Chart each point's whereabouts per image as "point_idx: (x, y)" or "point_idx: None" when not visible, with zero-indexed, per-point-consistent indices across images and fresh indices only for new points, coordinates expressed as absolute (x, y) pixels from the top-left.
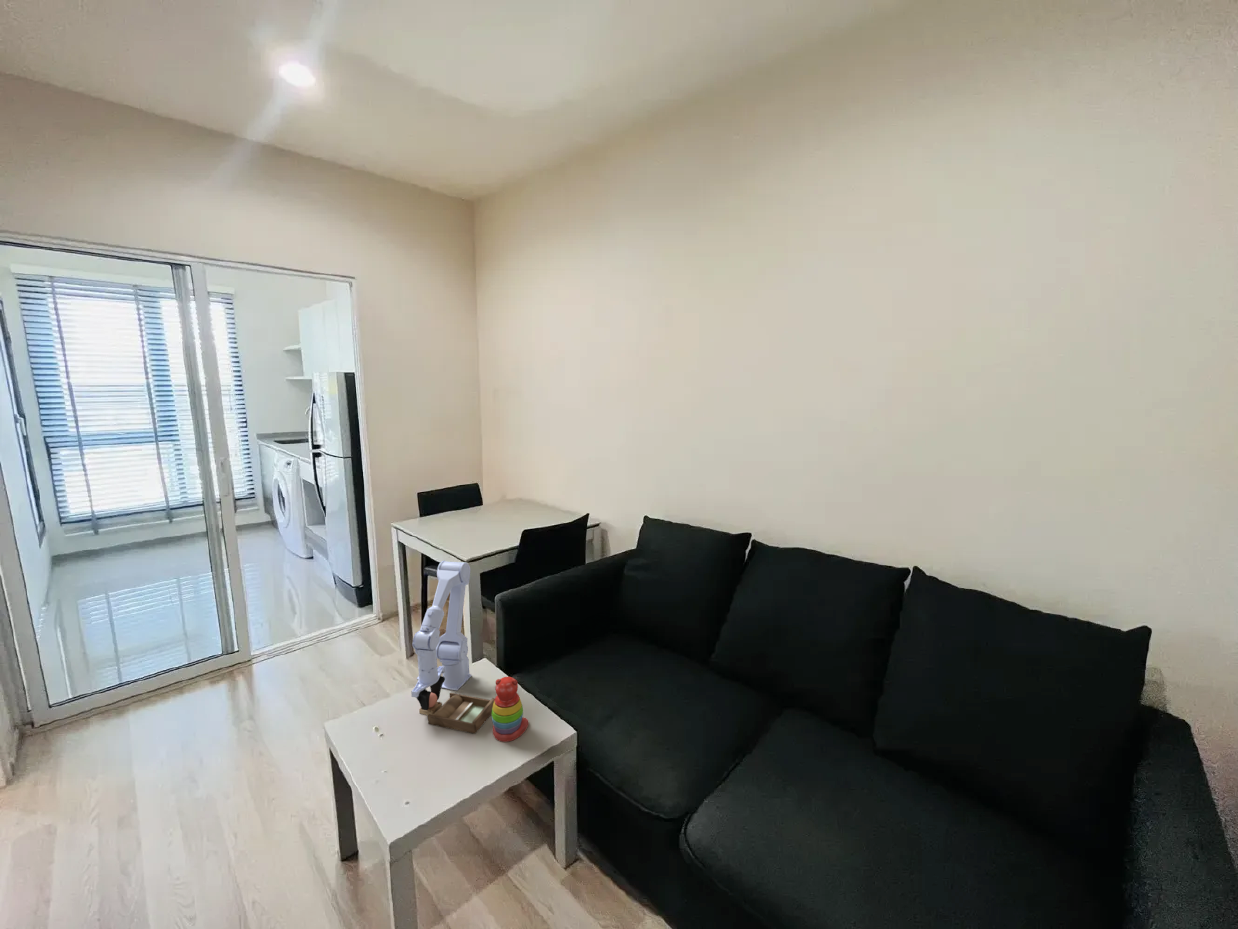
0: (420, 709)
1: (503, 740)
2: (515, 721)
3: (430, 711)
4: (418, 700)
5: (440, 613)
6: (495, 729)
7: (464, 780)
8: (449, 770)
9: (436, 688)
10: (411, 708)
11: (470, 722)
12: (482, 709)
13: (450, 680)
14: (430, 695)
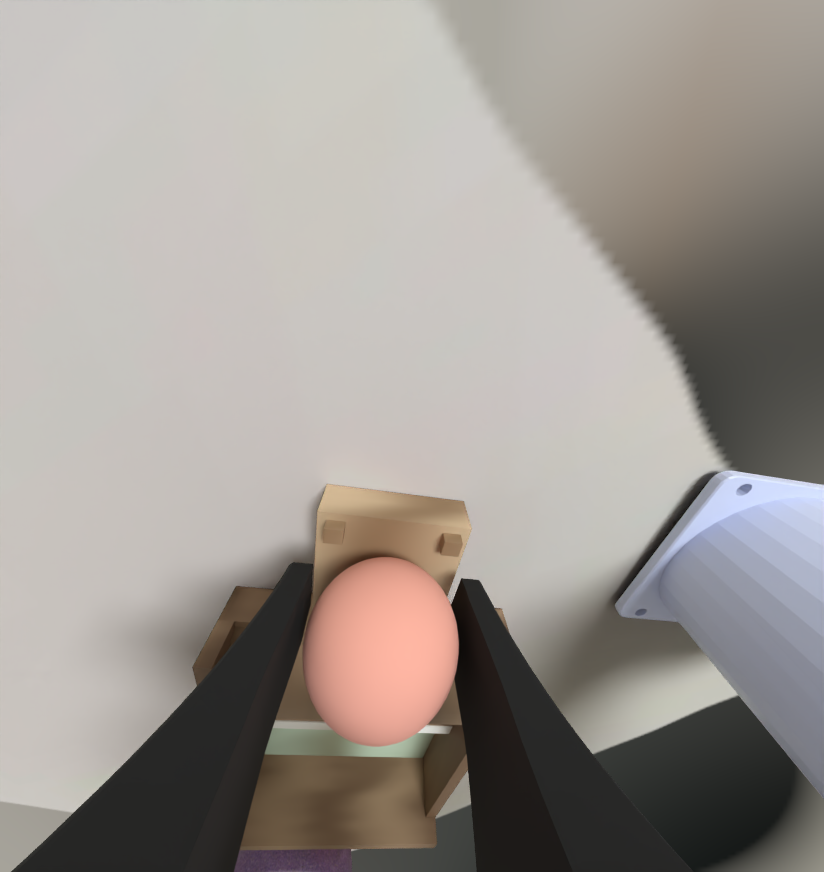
0: (320, 521)
1: None
2: None
3: (316, 598)
4: (194, 696)
5: None
6: (243, 850)
7: (17, 784)
8: (14, 750)
9: (483, 778)
10: (385, 373)
11: (310, 735)
12: (414, 740)
13: (722, 644)
14: (355, 742)
